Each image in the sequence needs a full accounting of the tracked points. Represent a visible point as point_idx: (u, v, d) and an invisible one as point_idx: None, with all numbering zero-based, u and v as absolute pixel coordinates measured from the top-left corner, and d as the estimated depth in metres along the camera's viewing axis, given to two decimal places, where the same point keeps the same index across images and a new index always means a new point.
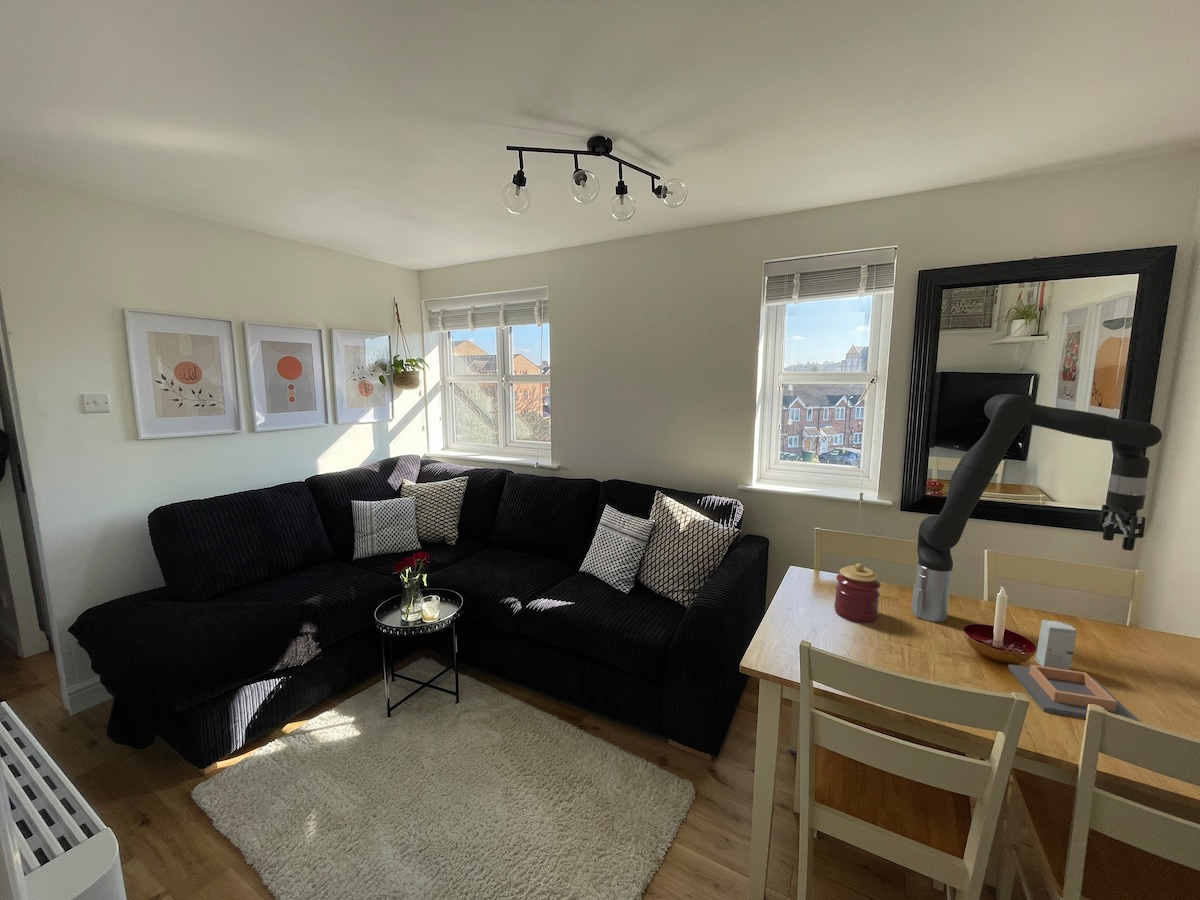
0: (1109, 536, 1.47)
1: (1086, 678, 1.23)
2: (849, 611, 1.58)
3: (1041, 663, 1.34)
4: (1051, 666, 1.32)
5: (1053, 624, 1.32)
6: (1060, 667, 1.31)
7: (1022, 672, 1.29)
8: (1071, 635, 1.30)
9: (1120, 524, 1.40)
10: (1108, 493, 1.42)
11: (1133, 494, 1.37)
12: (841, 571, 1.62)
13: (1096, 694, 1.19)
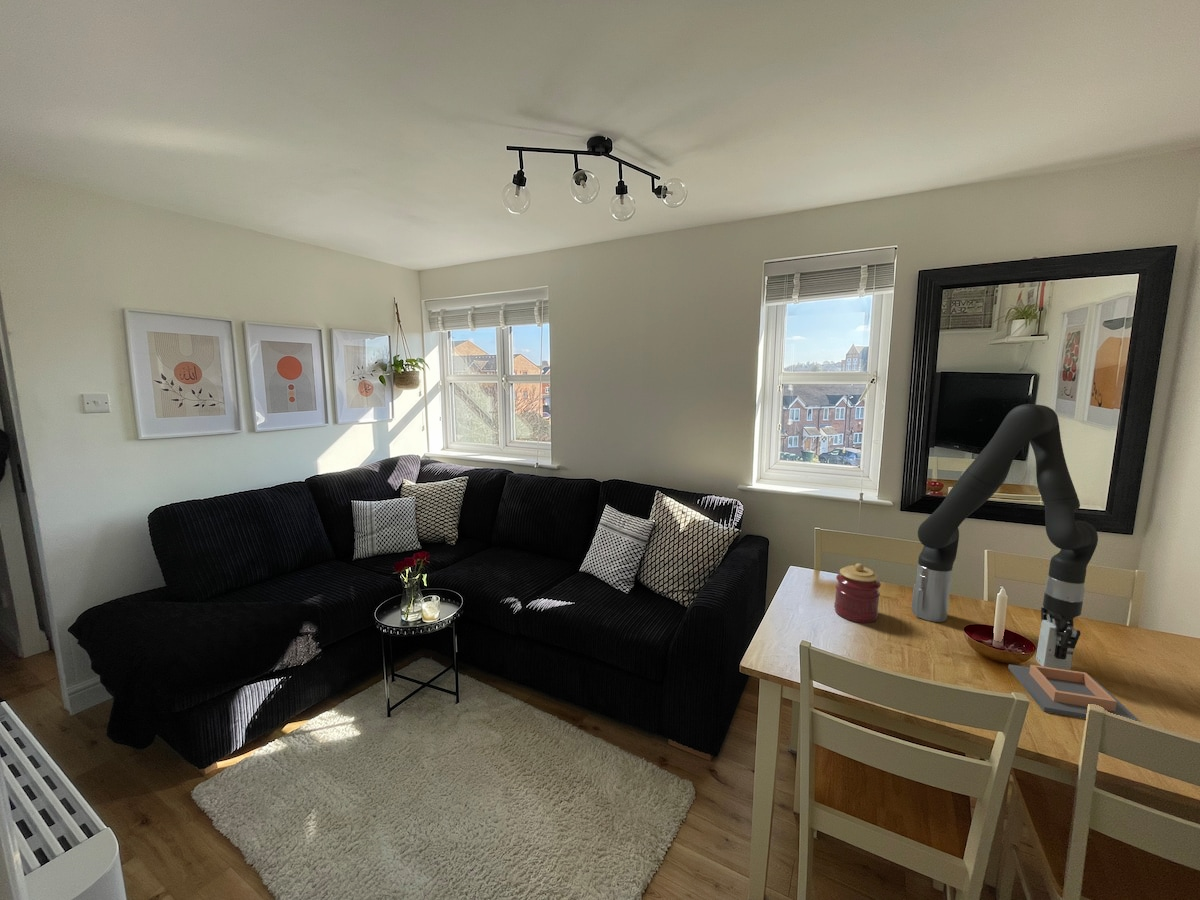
0: None
1: (1086, 678, 1.23)
2: (849, 611, 1.58)
3: (1041, 663, 1.34)
4: (1051, 666, 1.32)
5: None
6: (1060, 667, 1.31)
7: (1022, 672, 1.29)
8: None
9: (1055, 630, 1.31)
10: (1045, 595, 1.32)
11: (1069, 600, 1.27)
12: (841, 571, 1.62)
13: (1096, 694, 1.19)
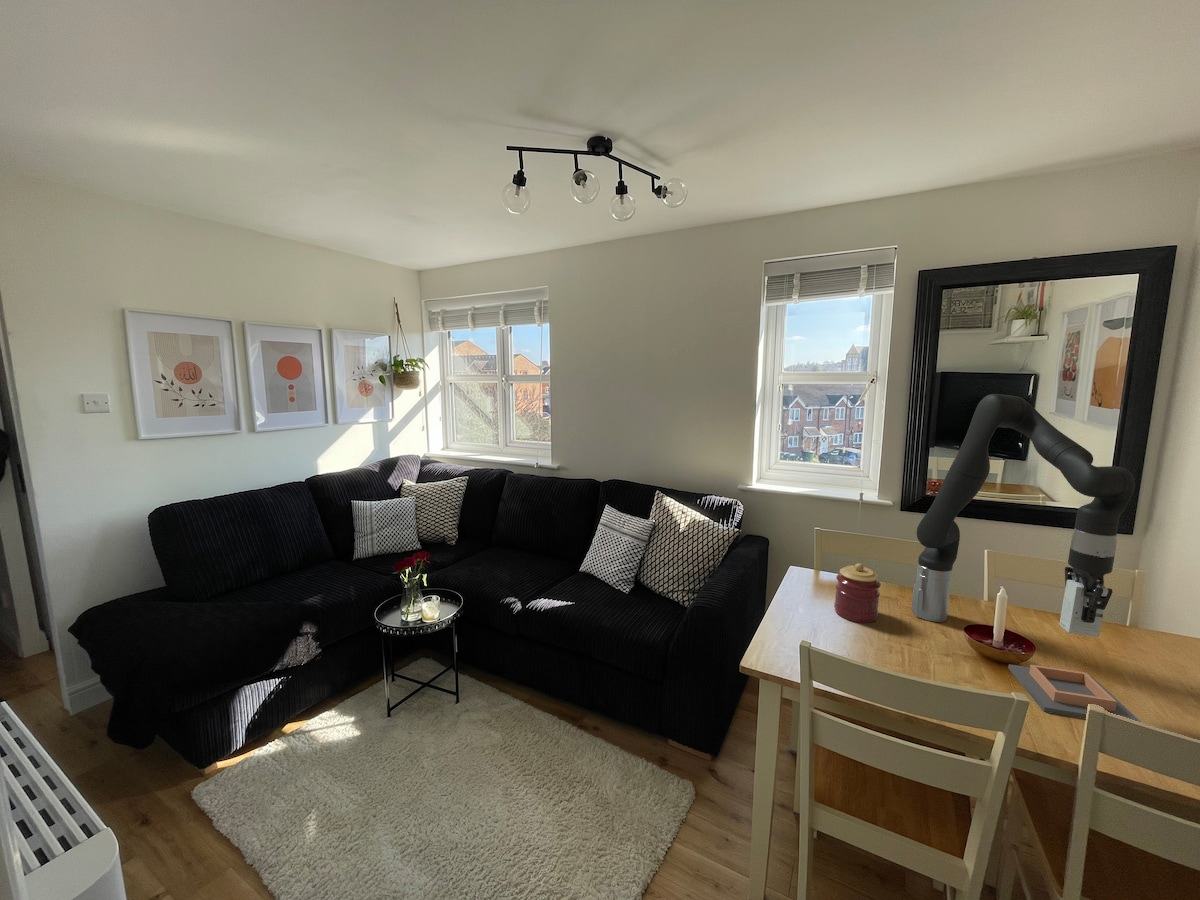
0: None
1: (1086, 678, 1.23)
2: (849, 611, 1.58)
3: (1066, 628, 1.19)
4: (1078, 631, 1.17)
5: None
6: (1088, 632, 1.17)
7: (1022, 672, 1.29)
8: None
9: (1082, 590, 1.16)
10: (1070, 551, 1.17)
11: (1099, 555, 1.12)
12: (841, 571, 1.62)
13: (1096, 694, 1.19)
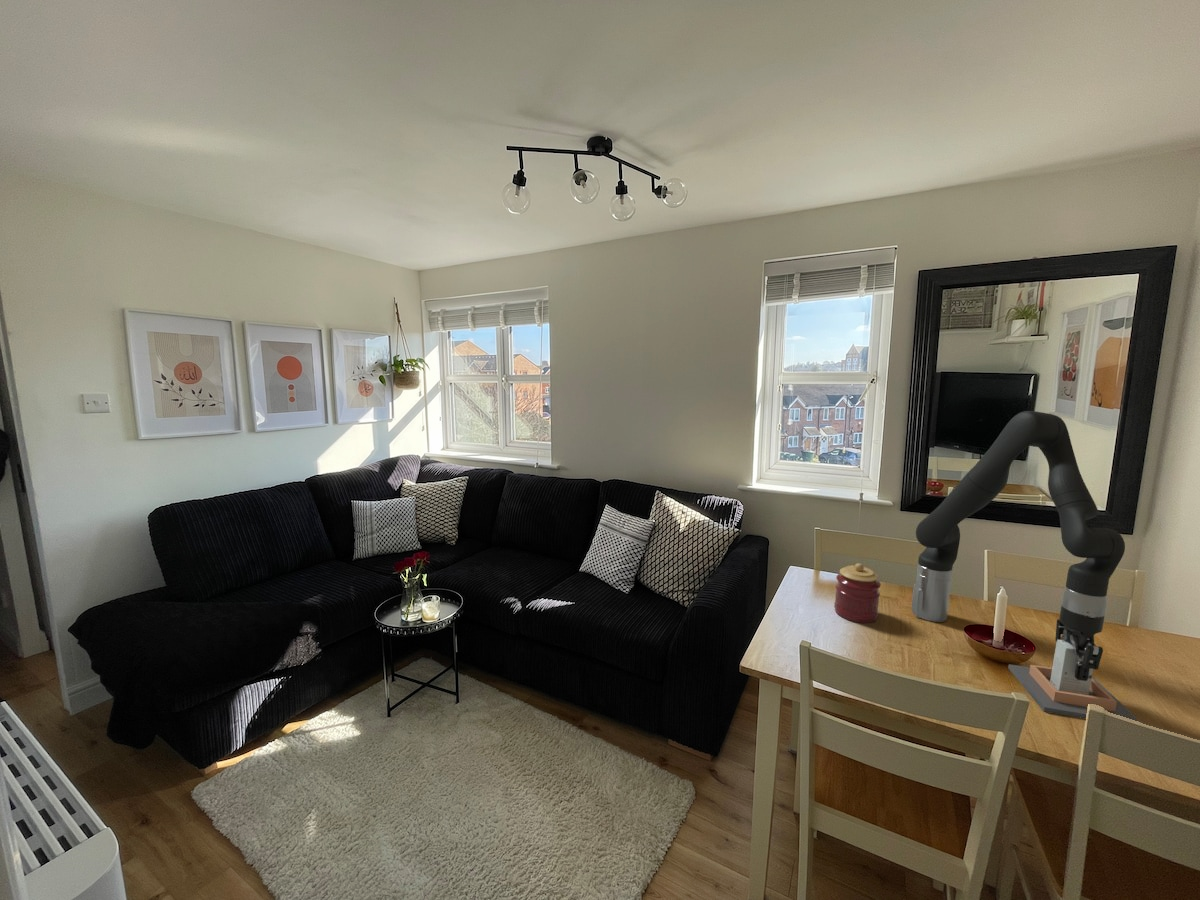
0: None
1: None
2: (849, 611, 1.58)
3: (1056, 687, 1.22)
4: (1067, 691, 1.20)
5: (1069, 644, 1.20)
6: (1077, 692, 1.19)
7: (1022, 672, 1.29)
8: None
9: (1074, 648, 1.18)
10: (1062, 609, 1.20)
11: (1089, 615, 1.15)
12: (841, 571, 1.62)
13: (1096, 694, 1.19)
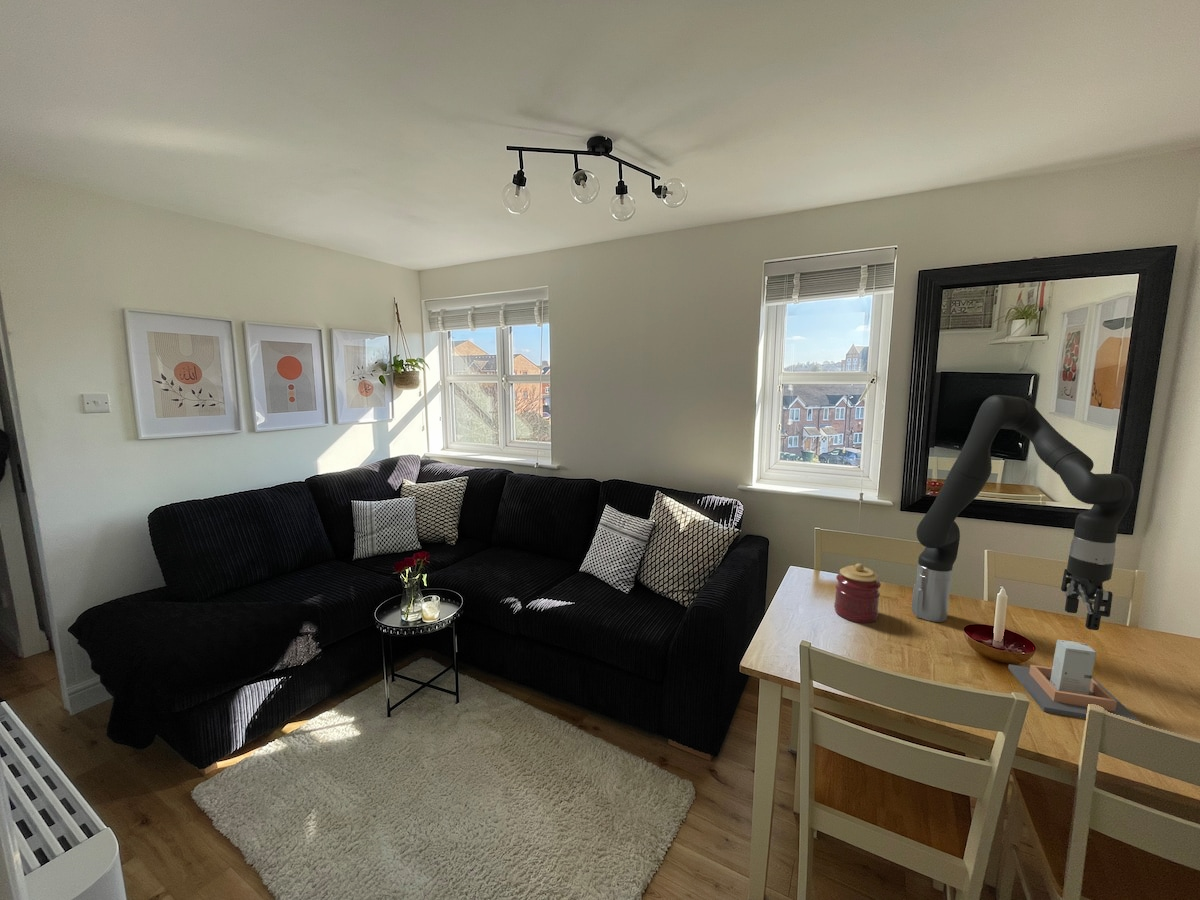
0: (1072, 608, 1.22)
1: None
2: (849, 611, 1.58)
3: (1056, 687, 1.22)
4: (1067, 691, 1.20)
5: (1069, 644, 1.20)
6: (1077, 692, 1.19)
7: (1022, 672, 1.29)
8: (1090, 657, 1.18)
9: (1083, 597, 1.15)
10: (1069, 558, 1.18)
11: (1098, 562, 1.13)
12: (841, 571, 1.62)
13: (1096, 694, 1.19)
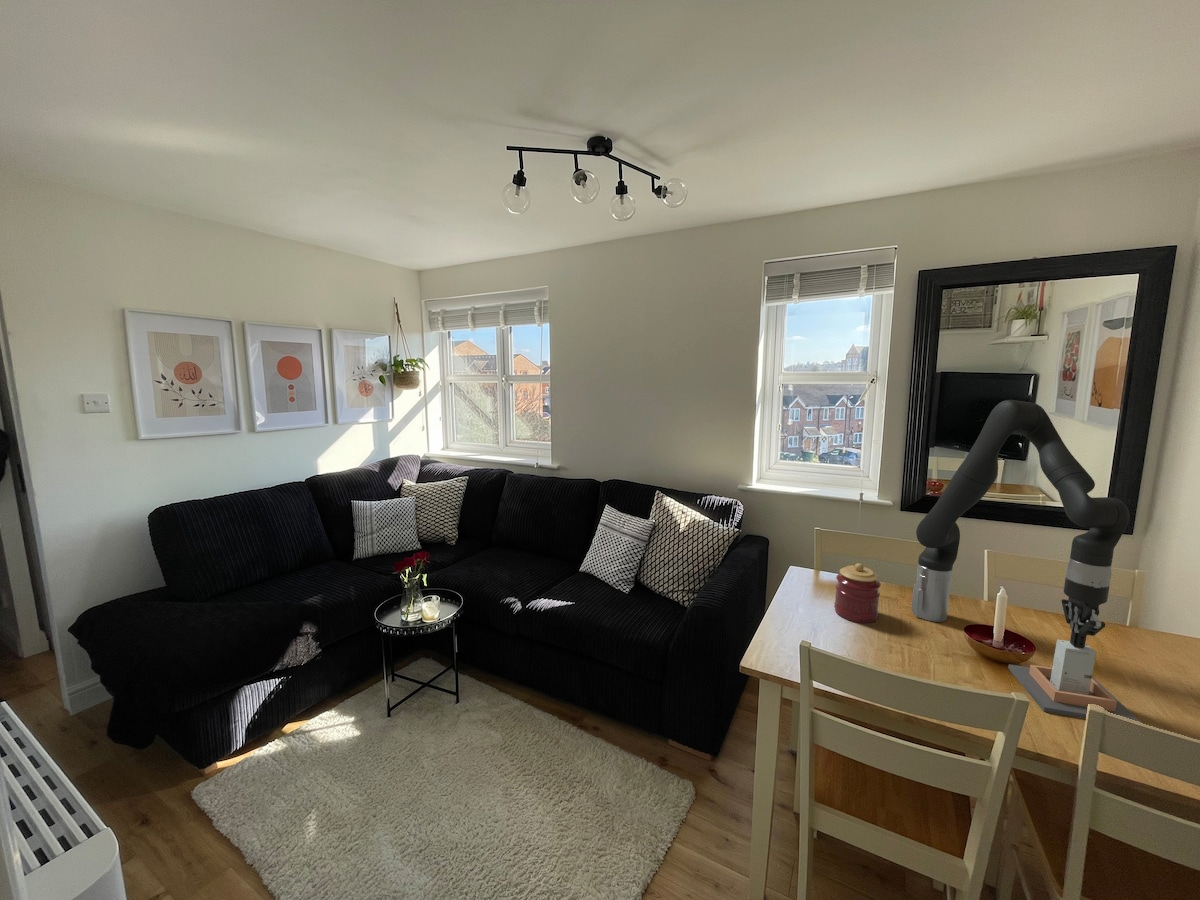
0: None
1: None
2: (849, 611, 1.58)
3: (1056, 687, 1.22)
4: (1067, 691, 1.20)
5: (1069, 644, 1.20)
6: (1077, 692, 1.19)
7: (1022, 672, 1.29)
8: (1090, 657, 1.18)
9: (1075, 618, 1.18)
10: (1066, 580, 1.19)
11: (1094, 585, 1.13)
12: (841, 571, 1.62)
13: (1096, 694, 1.19)
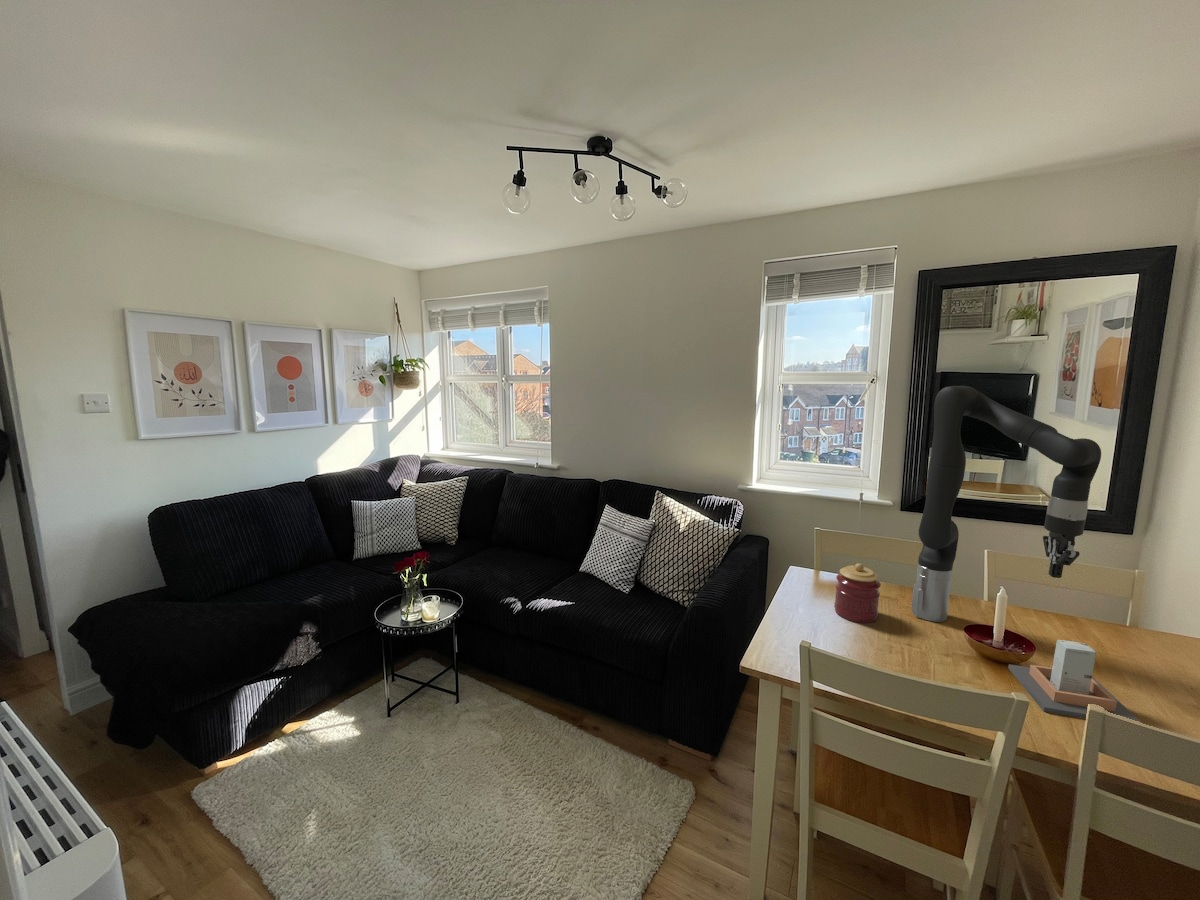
0: None
1: None
2: (849, 611, 1.58)
3: (1056, 687, 1.22)
4: (1067, 691, 1.20)
5: (1069, 644, 1.20)
6: (1077, 692, 1.19)
7: (1022, 672, 1.29)
8: (1090, 657, 1.18)
9: (1053, 550, 1.29)
10: (1046, 516, 1.30)
11: (1071, 519, 1.25)
12: (841, 571, 1.62)
13: (1096, 694, 1.19)
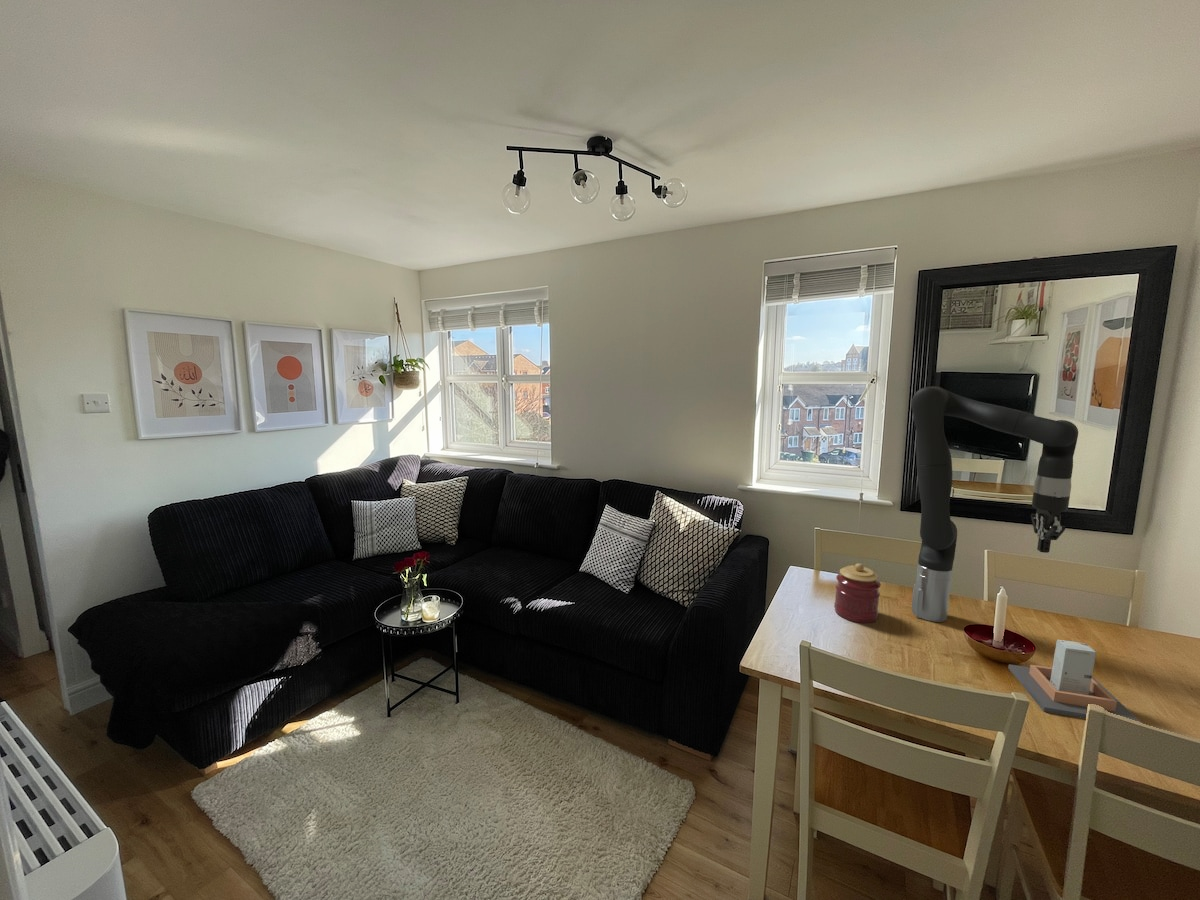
0: None
1: None
2: (849, 611, 1.58)
3: (1056, 687, 1.22)
4: (1067, 691, 1.20)
5: (1069, 644, 1.20)
6: (1077, 692, 1.19)
7: (1022, 672, 1.29)
8: (1090, 657, 1.18)
9: (1041, 526, 1.37)
10: (1033, 494, 1.38)
11: (1056, 495, 1.33)
12: (841, 571, 1.62)
13: (1096, 694, 1.19)
